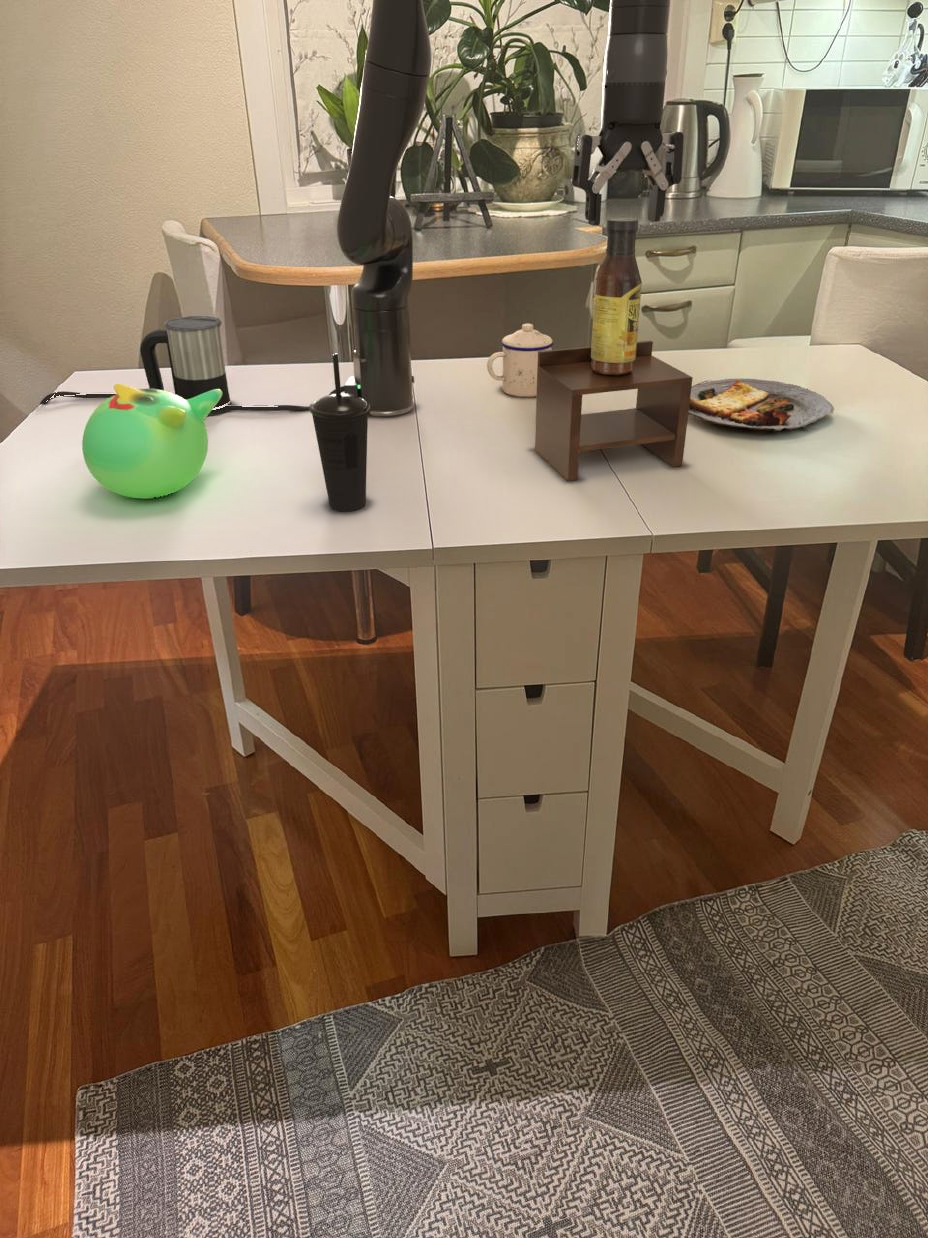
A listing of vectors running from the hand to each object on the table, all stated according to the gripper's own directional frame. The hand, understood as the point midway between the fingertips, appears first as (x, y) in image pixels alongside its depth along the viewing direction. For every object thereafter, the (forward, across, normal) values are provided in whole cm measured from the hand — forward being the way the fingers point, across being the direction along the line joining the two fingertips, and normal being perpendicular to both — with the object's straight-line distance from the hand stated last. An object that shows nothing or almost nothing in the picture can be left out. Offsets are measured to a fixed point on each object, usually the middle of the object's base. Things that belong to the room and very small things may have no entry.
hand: (623, 222), depth 119 cm
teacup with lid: (+33, +1, -35) cm, 48 cm away
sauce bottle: (+20, 0, 0) cm, 20 cm away
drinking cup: (+33, +40, +5) cm, 52 cm away
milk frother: (+33, +58, -40) cm, 78 cm away
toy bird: (+33, +64, -8) cm, 72 cm away
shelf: (+32, 0, 0) cm, 32 cm away
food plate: (+33, -31, -10) cm, 46 cm away
